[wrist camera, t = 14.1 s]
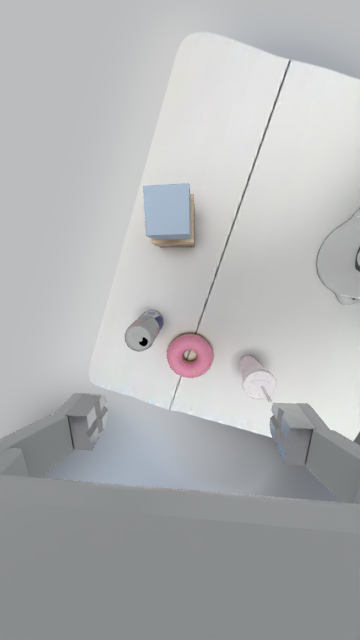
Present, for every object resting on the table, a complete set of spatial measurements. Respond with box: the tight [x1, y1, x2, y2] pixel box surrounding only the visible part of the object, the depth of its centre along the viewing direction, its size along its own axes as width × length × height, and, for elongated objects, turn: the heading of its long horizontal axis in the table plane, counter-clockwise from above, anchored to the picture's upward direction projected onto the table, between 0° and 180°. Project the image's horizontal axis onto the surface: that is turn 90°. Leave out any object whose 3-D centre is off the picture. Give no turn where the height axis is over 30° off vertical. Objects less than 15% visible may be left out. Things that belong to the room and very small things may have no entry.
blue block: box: [143, 183, 191, 240], centre depth 30 cm, size 6×6×6 cm
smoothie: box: [240, 356, 276, 402], centre depth 42 cm, size 6×6×14 cm
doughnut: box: [167, 334, 213, 378], centre depth 48 cm, size 11×11×4 cm
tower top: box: [151, 194, 194, 246], centre depth 35 cm, size 7×7×5 cm
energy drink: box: [125, 310, 163, 351], centre depth 42 cm, size 5×5×12 cm
